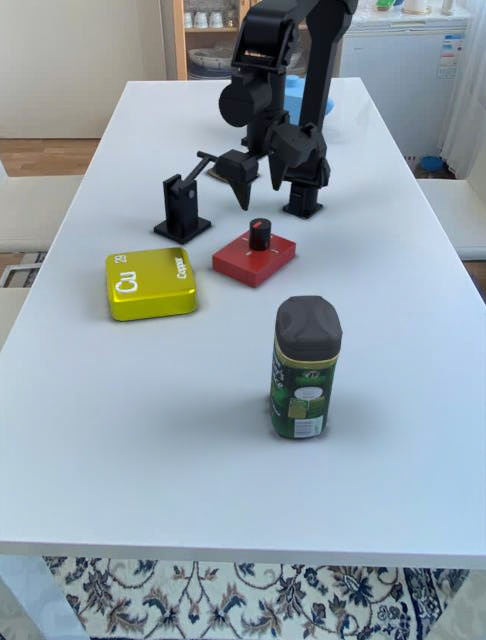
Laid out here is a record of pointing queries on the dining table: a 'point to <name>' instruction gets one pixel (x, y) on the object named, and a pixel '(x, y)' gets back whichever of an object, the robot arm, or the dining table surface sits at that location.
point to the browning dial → (260, 234)
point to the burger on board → (212, 172)
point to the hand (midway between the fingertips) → (260, 199)
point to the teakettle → (298, 98)
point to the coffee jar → (303, 365)
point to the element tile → (150, 284)
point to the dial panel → (253, 259)
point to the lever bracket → (181, 213)
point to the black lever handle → (193, 172)
